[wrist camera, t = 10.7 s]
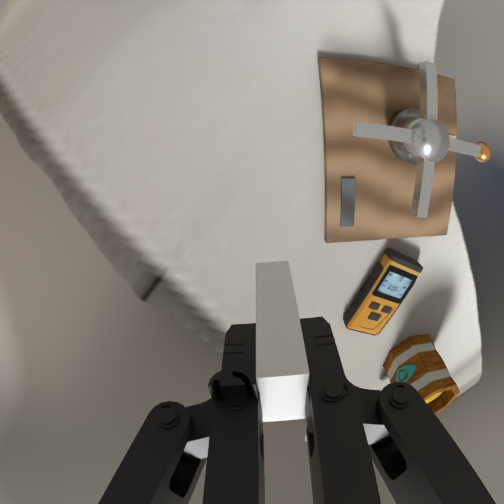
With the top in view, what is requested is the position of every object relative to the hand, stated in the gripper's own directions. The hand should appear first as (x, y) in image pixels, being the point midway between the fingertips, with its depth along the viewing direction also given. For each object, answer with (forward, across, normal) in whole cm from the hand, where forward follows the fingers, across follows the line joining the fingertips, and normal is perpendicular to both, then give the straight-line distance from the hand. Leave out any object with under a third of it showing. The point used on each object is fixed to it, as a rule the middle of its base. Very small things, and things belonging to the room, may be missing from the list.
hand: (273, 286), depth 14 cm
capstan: (+25, +20, +6) cm, 32 cm away
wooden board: (+26, +20, +3) cm, 33 cm away
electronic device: (+27, +19, -21) cm, 39 cm away
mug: (+26, +29, -43) cm, 59 cm away
